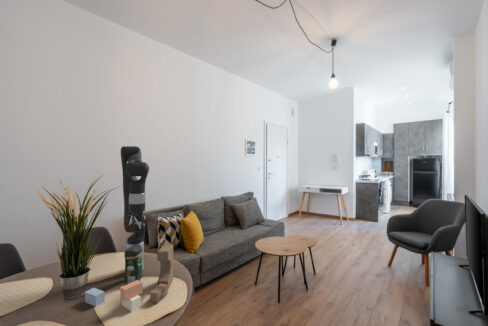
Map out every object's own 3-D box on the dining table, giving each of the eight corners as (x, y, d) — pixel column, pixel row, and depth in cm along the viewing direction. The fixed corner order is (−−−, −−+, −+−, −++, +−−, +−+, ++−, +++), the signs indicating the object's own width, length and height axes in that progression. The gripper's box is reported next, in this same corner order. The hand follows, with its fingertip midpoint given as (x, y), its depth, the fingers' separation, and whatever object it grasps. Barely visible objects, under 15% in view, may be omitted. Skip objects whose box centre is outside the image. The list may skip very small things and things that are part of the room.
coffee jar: (130, 276, 131) (130, 243, 131) (144, 275, 131) (144, 243, 131) (121, 285, 122) (121, 250, 121) (136, 285, 122) (136, 250, 122)
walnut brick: (157, 304, 106) (157, 293, 106) (150, 302, 107) (150, 292, 107) (167, 294, 114) (167, 284, 113) (160, 293, 115) (160, 283, 115)
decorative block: (167, 290, 117) (167, 251, 116) (156, 290, 116) (156, 251, 116) (173, 279, 128) (173, 243, 127) (163, 279, 127) (163, 243, 127)
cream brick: (122, 305, 105) (122, 294, 105) (130, 301, 108) (130, 290, 108) (131, 312, 100) (132, 300, 100) (140, 307, 103) (140, 296, 103)
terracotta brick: (137, 290, 108) (137, 279, 108) (142, 293, 106) (142, 282, 106) (120, 298, 102) (120, 287, 102) (124, 301, 100) (124, 290, 99)
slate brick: (85, 302, 107) (85, 291, 107) (93, 297, 110) (93, 287, 110) (96, 307, 103) (96, 296, 103) (104, 302, 107) (104, 291, 107)
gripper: (152, 202, 114) (151, 235, 114) (136, 199, 122) (136, 229, 122) (138, 205, 108) (137, 239, 108) (122, 201, 116) (122, 233, 116)
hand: (136, 233), depth 115 cm, fingers open, 8 cm apart
